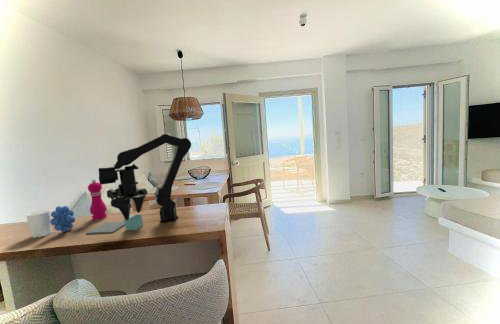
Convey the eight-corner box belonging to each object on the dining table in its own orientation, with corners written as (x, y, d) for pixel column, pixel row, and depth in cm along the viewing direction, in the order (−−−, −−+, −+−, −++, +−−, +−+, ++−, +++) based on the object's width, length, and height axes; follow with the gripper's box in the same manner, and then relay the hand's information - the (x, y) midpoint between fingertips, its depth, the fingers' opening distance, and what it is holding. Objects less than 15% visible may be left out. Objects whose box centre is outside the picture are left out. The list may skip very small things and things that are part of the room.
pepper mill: (102, 220, 123) (96, 180, 120) (88, 221, 123) (81, 181, 121) (110, 215, 130) (105, 177, 128) (97, 216, 130) (91, 178, 128)
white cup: (34, 239, 103) (30, 216, 102) (27, 236, 108) (23, 214, 106) (56, 232, 110) (52, 210, 109) (49, 230, 114) (45, 208, 113)
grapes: (63, 237, 104) (58, 209, 102) (48, 237, 104) (43, 210, 103) (84, 226, 115) (80, 201, 114) (70, 227, 116) (66, 202, 115)
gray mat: (129, 222, 116) (129, 221, 116) (113, 232, 104) (112, 231, 104) (104, 223, 117) (104, 222, 117) (86, 234, 105) (85, 232, 105)
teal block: (142, 225, 110) (141, 214, 110) (136, 229, 106) (135, 218, 105) (132, 226, 111) (130, 215, 110) (125, 230, 106) (124, 219, 105)
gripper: (122, 177, 116) (127, 210, 118) (95, 186, 97) (101, 225, 99) (145, 176, 115) (150, 209, 117) (122, 185, 96) (127, 223, 98)
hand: (133, 216), depth 108 cm, fingers open, 9 cm apart
